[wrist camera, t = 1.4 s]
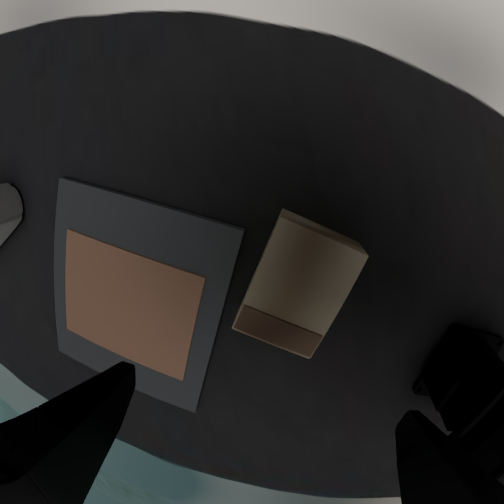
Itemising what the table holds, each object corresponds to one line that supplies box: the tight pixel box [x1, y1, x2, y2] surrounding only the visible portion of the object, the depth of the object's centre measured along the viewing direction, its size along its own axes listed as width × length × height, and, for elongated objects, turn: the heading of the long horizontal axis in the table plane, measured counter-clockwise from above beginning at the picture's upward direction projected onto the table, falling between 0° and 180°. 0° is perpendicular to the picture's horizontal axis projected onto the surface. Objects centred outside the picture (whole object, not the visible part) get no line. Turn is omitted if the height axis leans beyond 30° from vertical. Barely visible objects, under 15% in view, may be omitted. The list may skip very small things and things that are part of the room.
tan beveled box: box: [232, 208, 369, 359], centre depth 18 cm, size 5×7×3 cm
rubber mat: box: [54, 177, 245, 413], centre depth 21 cm, size 14×16×1 cm
